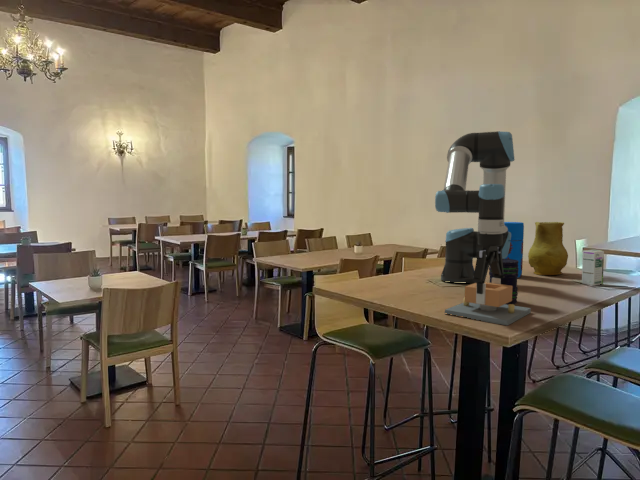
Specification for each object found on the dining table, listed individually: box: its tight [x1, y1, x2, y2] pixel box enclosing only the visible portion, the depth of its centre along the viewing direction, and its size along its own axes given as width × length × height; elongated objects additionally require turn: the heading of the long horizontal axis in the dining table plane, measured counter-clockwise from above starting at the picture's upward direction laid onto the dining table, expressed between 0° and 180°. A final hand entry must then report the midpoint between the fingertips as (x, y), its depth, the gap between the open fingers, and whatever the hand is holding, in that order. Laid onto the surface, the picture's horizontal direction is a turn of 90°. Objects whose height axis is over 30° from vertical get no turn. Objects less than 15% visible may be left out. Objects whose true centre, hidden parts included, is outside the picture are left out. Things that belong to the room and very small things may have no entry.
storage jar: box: [488, 259, 519, 305], centre depth 169 cm, size 10×10×15 cm
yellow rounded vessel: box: [527, 221, 569, 276], centre depth 226 cm, size 17×19×25 cm
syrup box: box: [581, 249, 605, 286], centre depth 201 cm, size 6×6×14 cm
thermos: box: [504, 221, 525, 279], centre depth 221 cm, size 11×11×25 cm
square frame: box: [464, 281, 512, 307], centre depth 153 cm, size 11×11×5 cm
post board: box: [444, 297, 532, 326], centre depth 153 cm, size 20×20×7 cm
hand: (488, 300), depth 153 cm, fingers closed on square frame, 11 cm apart
